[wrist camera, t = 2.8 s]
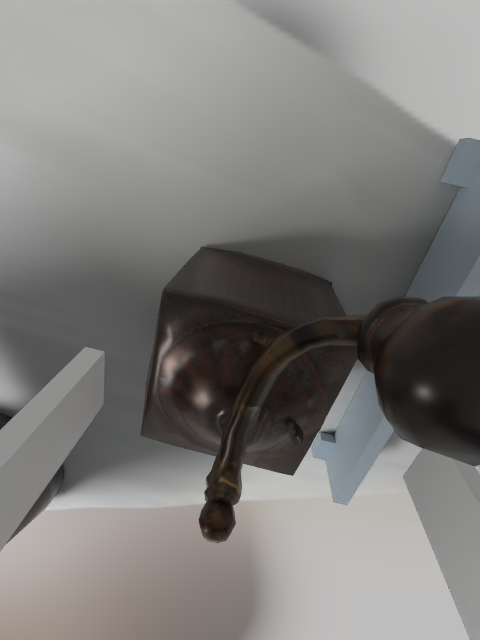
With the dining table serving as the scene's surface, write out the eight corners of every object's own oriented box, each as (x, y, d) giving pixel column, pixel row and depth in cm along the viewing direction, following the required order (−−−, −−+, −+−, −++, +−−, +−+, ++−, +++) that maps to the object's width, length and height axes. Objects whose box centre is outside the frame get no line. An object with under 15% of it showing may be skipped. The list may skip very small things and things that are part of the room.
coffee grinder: (295, 388, 28) (332, 690, 12) (175, 356, 27) (45, 627, 11) (372, 213, 21) (715, 377, 5) (213, 167, 20) (11, 179, 4)
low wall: (310, 450, 31) (317, 498, 27) (462, 133, 18) (524, 123, 14) (349, 459, 31) (362, 508, 27) (526, 150, 19) (607, 145, 14)
